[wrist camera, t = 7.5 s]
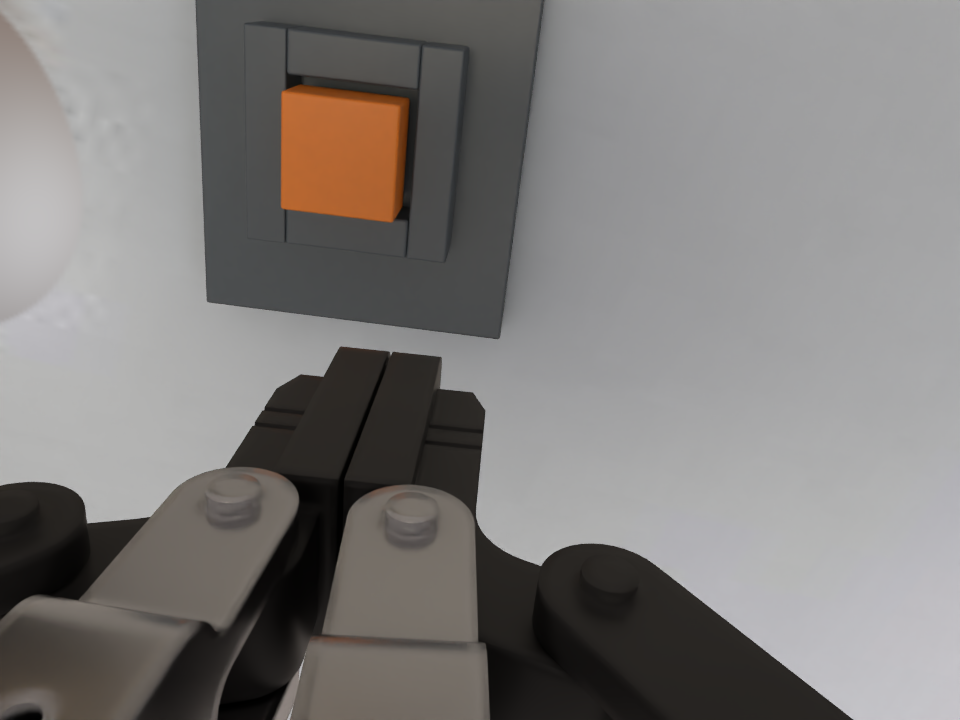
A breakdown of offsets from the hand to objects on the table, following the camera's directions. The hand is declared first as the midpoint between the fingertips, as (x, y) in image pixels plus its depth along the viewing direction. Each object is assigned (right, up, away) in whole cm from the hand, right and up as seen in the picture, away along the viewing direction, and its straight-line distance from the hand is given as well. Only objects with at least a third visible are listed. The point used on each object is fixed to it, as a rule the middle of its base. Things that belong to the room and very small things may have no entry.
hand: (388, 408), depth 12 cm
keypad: (-2, +8, +14) cm, 16 cm away
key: (-2, +7, +11) cm, 13 cm away
